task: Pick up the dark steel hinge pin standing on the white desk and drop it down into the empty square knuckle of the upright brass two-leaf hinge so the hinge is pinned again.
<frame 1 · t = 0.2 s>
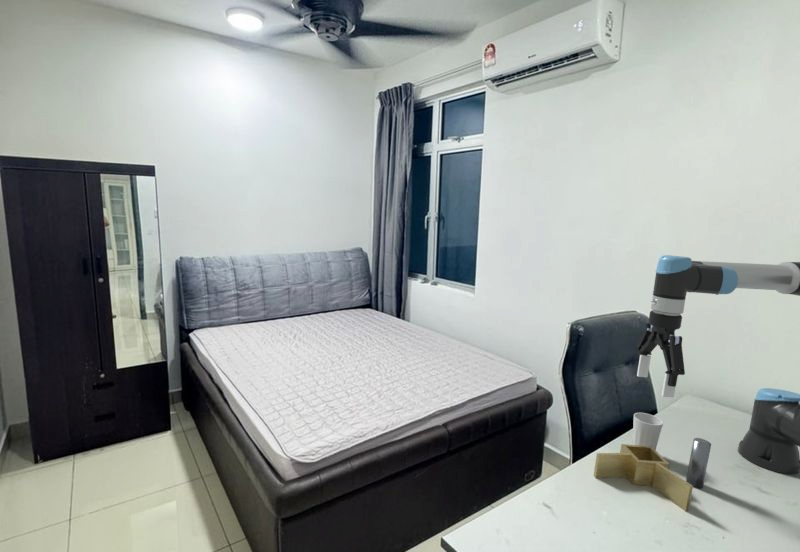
hand: (654, 386, 117), 27 cm above the table, fingers open, 13 cm apart
cup: (642, 454, 133), on the table
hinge: (640, 476, 121), on the table
pin: (694, 484, 119), on the table
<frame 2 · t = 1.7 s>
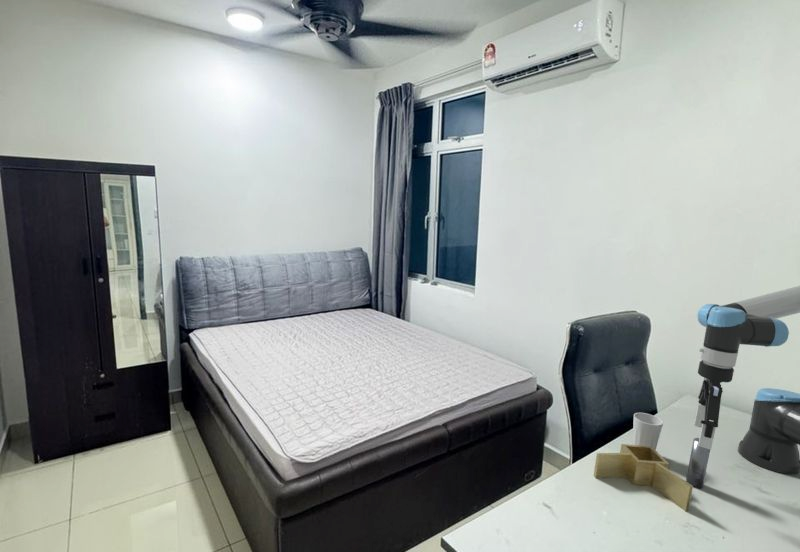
hand: (702, 436, 116), 15 cm above the table, fingers open, 13 cm apart
nothing on the table moved.
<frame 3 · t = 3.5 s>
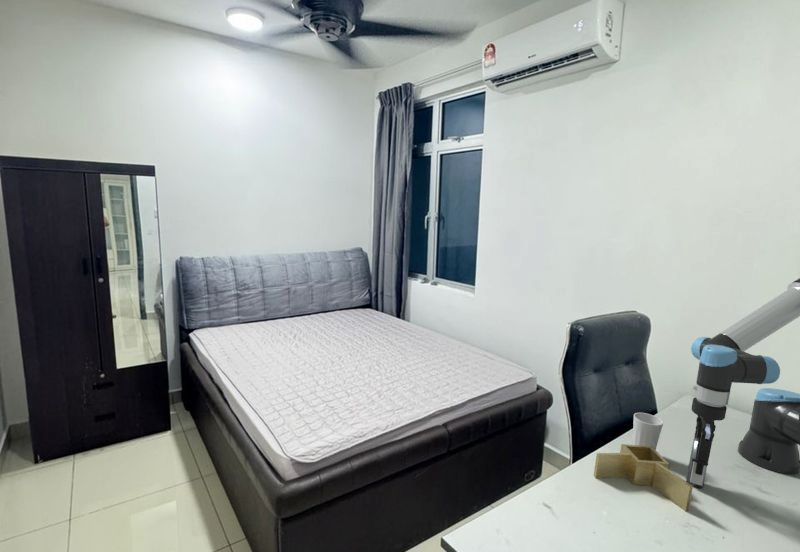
hand: (695, 478, 118), 2 cm above the table, fingers closed on pin, 4 cm apart
pin: (694, 484, 119), on the table, touching gripper
everything else where it was.
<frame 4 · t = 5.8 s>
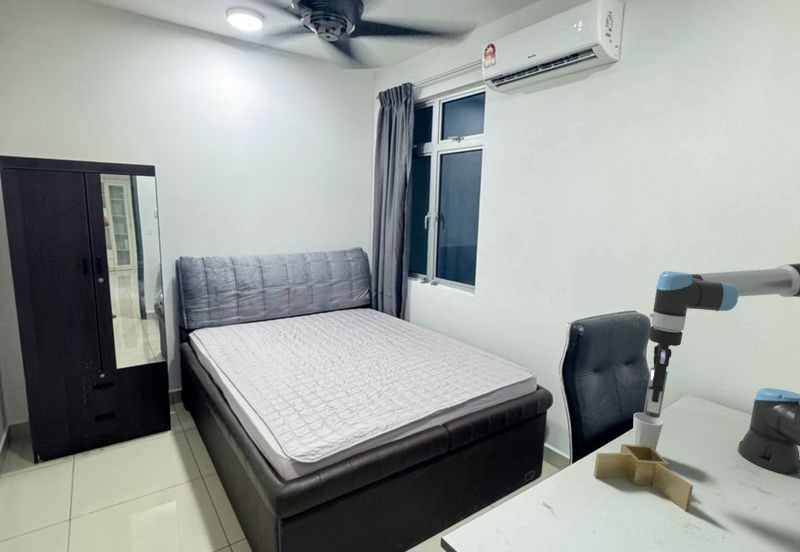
hand: (652, 408, 117), 21 cm above the table, fingers closed on pin, 4 cm apart
pin: (651, 414, 118), point 19 cm above the table, touching gripper
everything else where it was.
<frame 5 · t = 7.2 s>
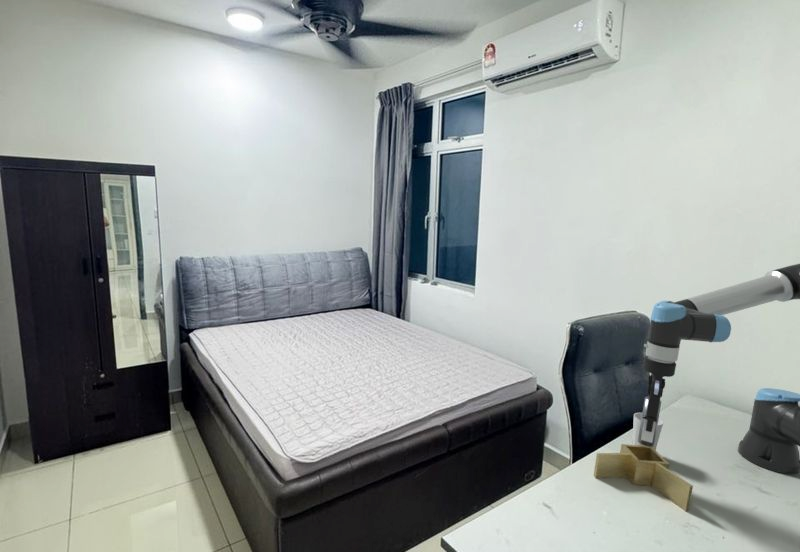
hand: (646, 437, 119), 12 cm above the table, fingers closed on pin, 4 cm apart
pin: (645, 442, 119), point 10 cm above the table, touching gripper
everything else where it was.
when the fingers open (8 cm above the table, at t = 8.1 s): pin drops 7 cm, resting in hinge.
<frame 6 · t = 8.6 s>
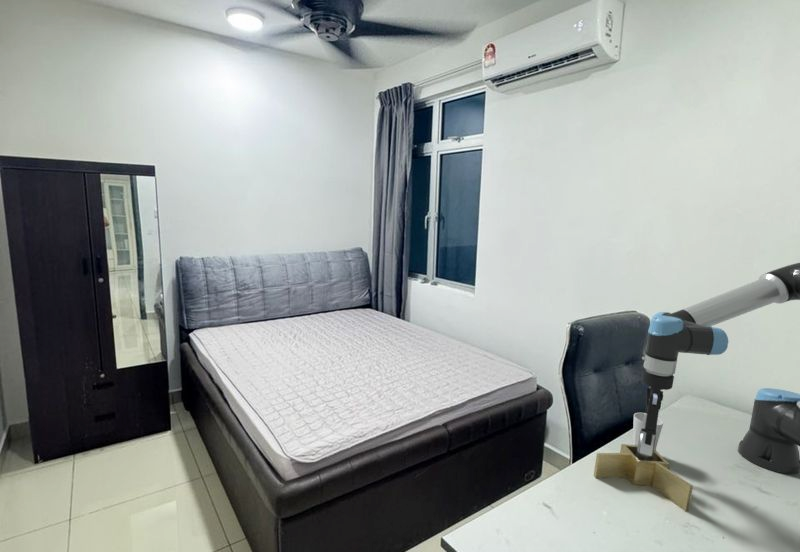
hand: (646, 444, 119), 10 cm above the table, fingers open, 11 cm apart
pin: (640, 476, 121), resting in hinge
everything else where it was.
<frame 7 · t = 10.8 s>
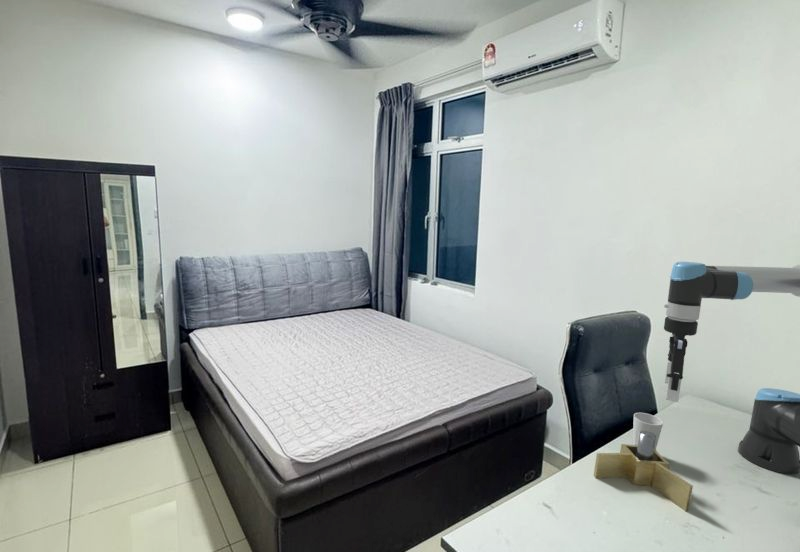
hand: (671, 391, 118), 26 cm above the table, fingers open, 13 cm apart
nothing on the table moved.
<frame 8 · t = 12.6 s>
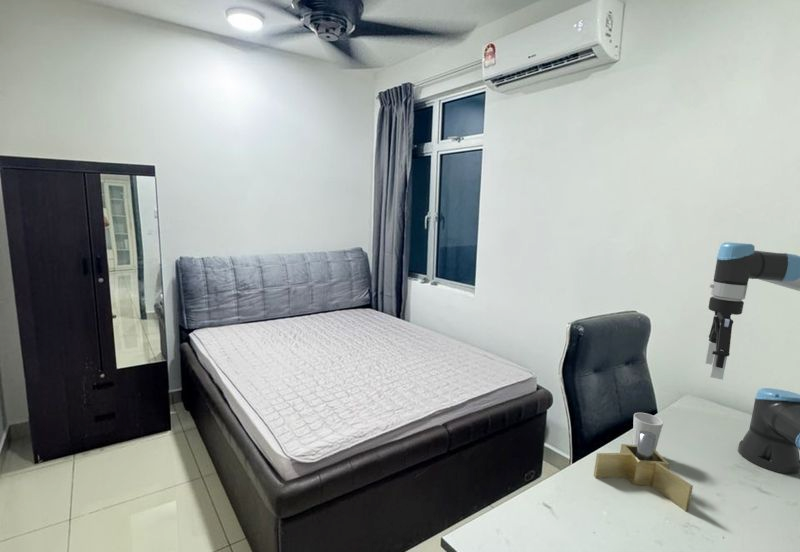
hand: (713, 370, 120), 32 cm above the table, fingers open, 13 cm apart
nothing on the table moved.
at the end: pin 0.0 cm off-centre on the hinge, point 0.0 cm above the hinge's base; pin tilted 0°; the gripper is holding nothing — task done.
